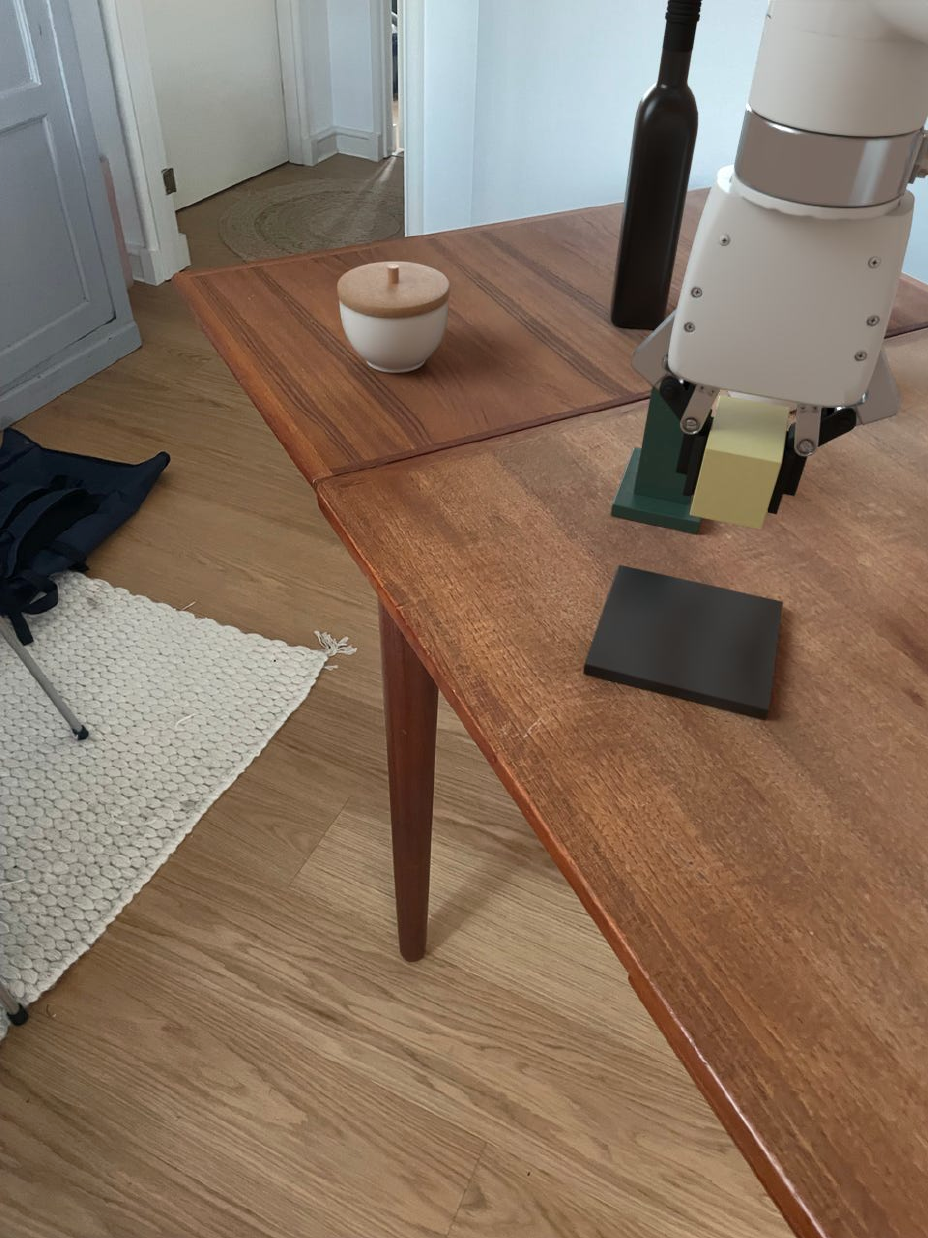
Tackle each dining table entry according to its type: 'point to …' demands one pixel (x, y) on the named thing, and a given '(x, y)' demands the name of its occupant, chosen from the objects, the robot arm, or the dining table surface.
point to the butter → (741, 462)
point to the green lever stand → (656, 475)
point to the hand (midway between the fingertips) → (732, 489)
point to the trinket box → (394, 313)
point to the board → (687, 641)
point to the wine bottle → (657, 179)
